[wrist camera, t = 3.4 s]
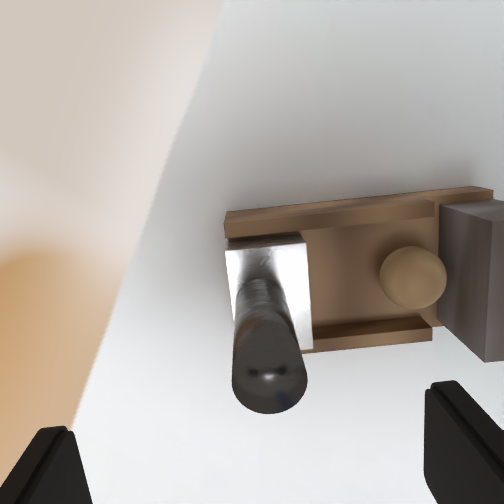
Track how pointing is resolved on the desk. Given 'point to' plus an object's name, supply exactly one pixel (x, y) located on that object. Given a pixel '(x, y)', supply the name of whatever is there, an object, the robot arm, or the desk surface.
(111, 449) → the desk surface
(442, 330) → the desk surface
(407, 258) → the nut
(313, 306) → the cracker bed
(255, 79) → the desk surface
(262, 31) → the desk surface
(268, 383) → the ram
